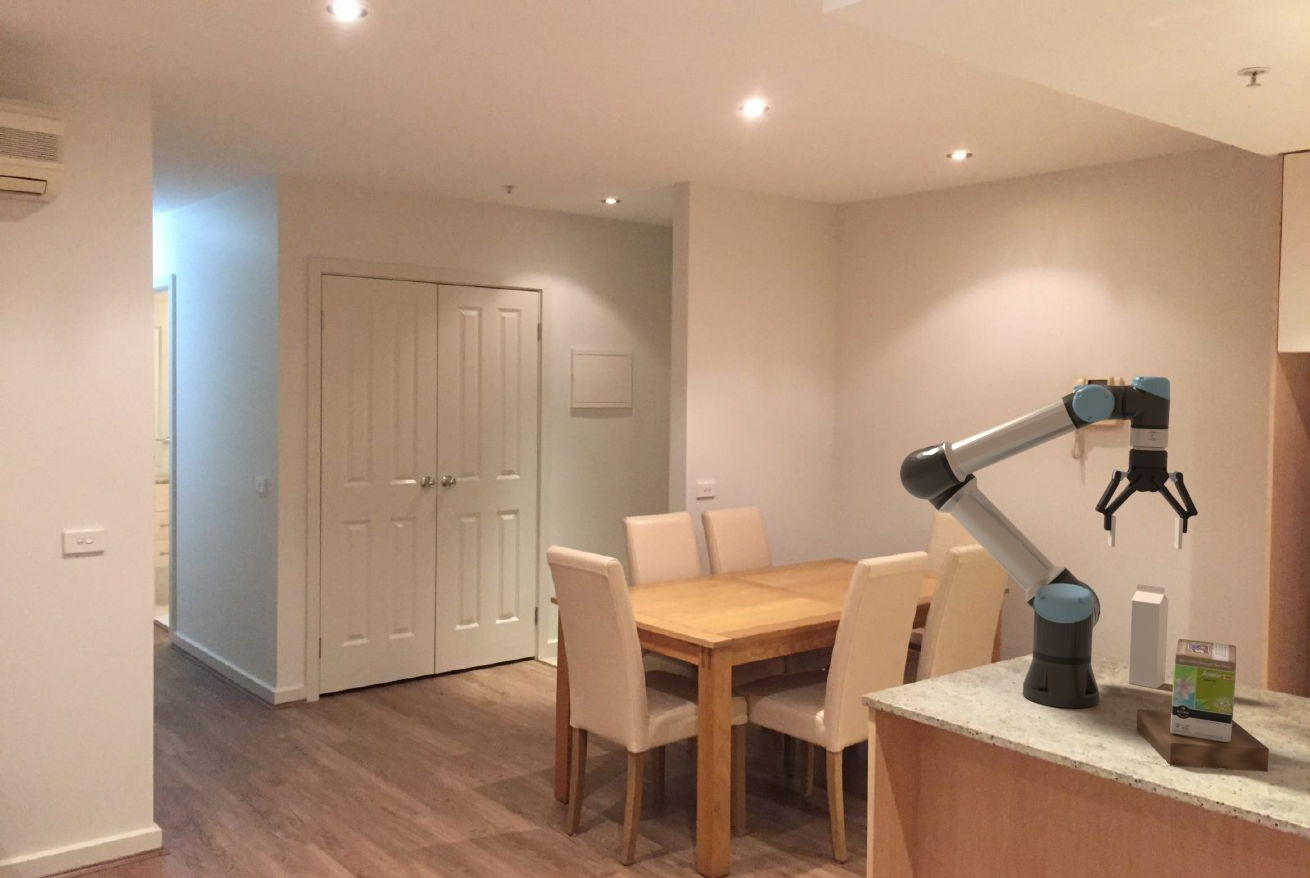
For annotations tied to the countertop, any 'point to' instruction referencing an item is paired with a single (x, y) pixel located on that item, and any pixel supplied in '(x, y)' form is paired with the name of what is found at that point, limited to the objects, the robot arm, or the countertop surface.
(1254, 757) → the walnut plinth
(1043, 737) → the countertop surface
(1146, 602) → the milk
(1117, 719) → the countertop surface
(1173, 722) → the tea box
